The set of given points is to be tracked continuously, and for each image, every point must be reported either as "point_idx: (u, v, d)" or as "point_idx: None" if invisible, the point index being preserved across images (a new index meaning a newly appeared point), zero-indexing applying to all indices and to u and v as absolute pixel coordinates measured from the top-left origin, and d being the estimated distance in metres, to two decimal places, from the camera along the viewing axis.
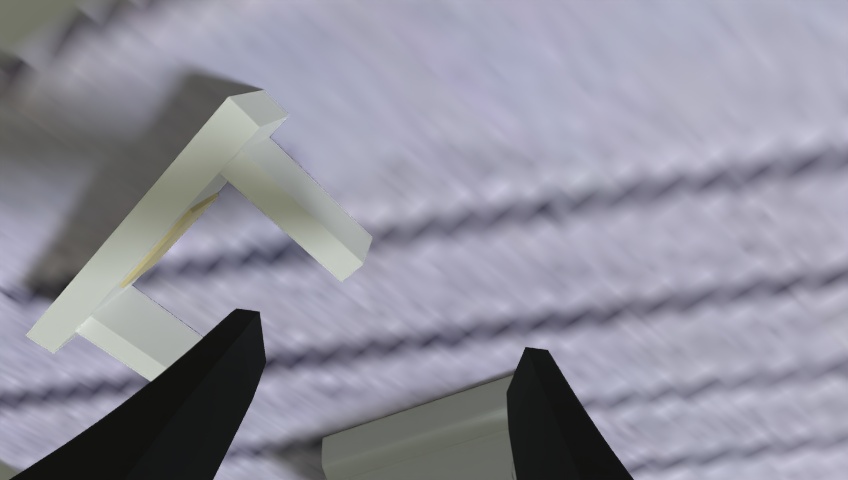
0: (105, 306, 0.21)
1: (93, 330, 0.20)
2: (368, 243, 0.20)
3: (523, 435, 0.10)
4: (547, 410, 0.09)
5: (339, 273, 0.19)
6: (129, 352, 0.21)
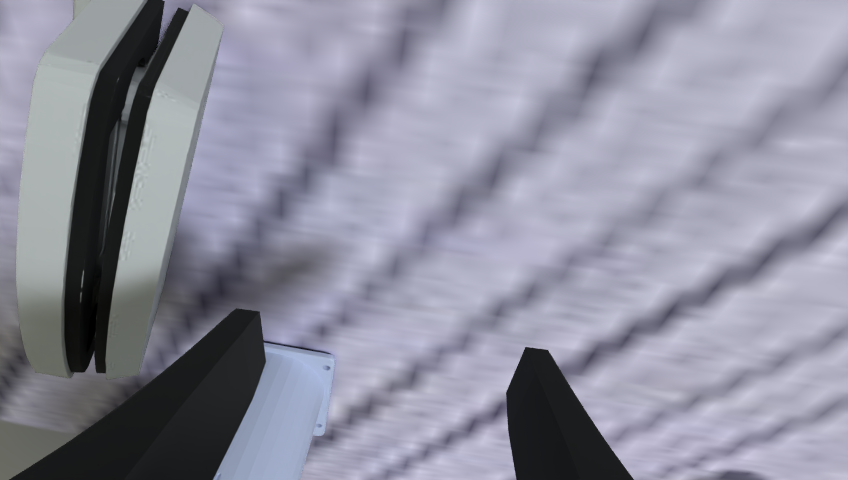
0: None
1: None
2: None
3: (523, 435, 0.10)
4: (547, 410, 0.09)
5: None
6: None
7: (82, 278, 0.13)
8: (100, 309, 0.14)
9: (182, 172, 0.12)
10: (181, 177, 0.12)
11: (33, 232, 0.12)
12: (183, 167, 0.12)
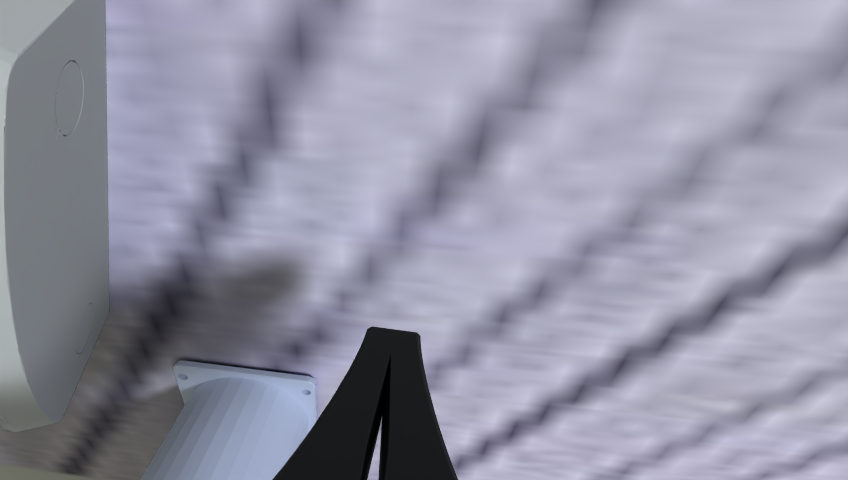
0: None
1: None
2: None
3: (384, 418, 0.10)
4: (389, 390, 0.09)
5: None
6: None
7: None
8: None
9: (3, 156, 0.09)
10: (4, 164, 0.09)
11: None
12: (2, 149, 0.08)
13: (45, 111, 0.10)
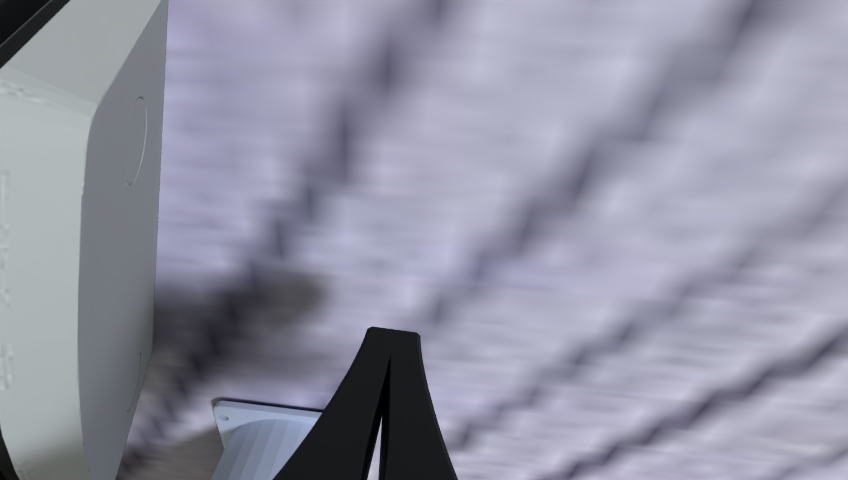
0: None
1: None
2: None
3: (384, 418, 0.10)
4: (389, 390, 0.09)
5: None
6: None
7: None
8: None
9: (79, 231, 0.07)
10: (80, 240, 0.07)
11: None
12: (79, 222, 0.07)
13: (116, 163, 0.08)
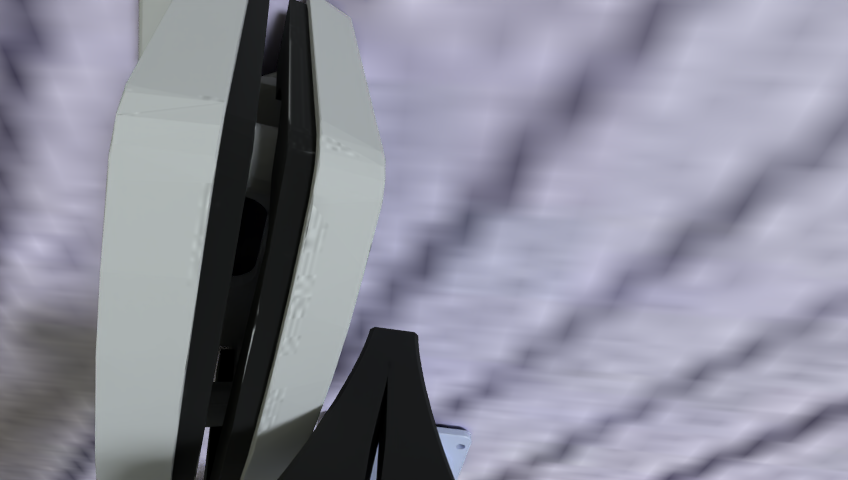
0: None
1: None
2: None
3: None
4: (386, 390, 0.09)
5: None
6: None
7: (198, 459, 0.08)
8: None
9: (361, 277, 0.07)
10: (358, 285, 0.07)
11: (122, 417, 0.06)
12: (363, 269, 0.07)
13: None
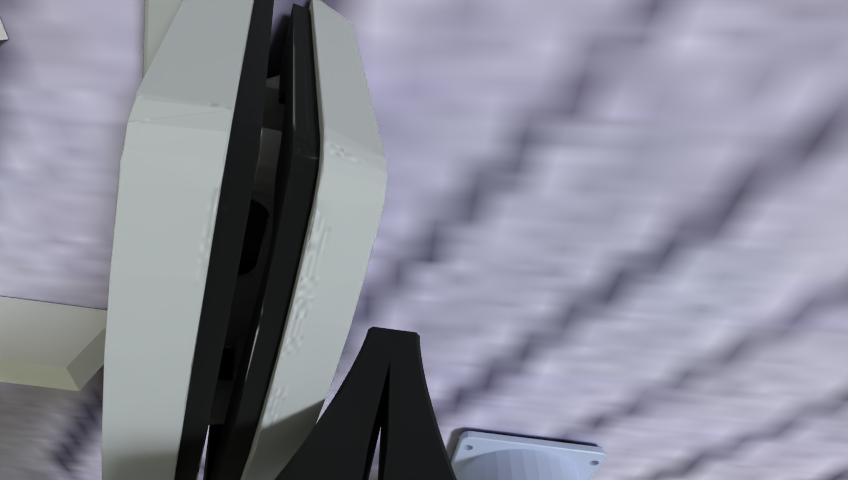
0: None
1: None
2: None
3: (383, 418, 0.10)
4: (388, 390, 0.09)
5: None
6: None
7: (201, 455, 0.08)
8: None
9: (362, 279, 0.07)
10: (359, 287, 0.07)
11: (129, 414, 0.07)
12: (364, 271, 0.07)
13: None
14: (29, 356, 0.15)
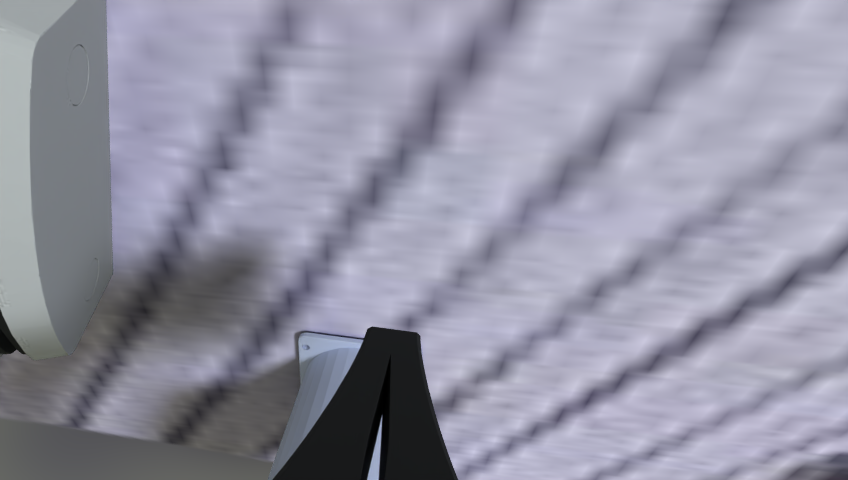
0: None
1: None
2: None
3: (383, 418, 0.10)
4: (389, 390, 0.09)
5: None
6: None
7: None
8: None
9: (29, 112, 0.11)
10: (30, 118, 0.11)
11: None
12: (28, 106, 0.11)
13: (59, 82, 0.13)
14: None
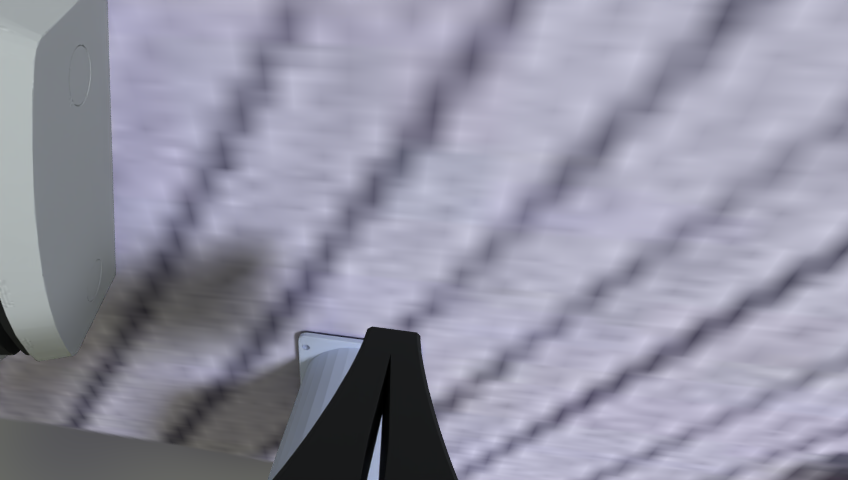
0: None
1: None
2: None
3: (384, 418, 0.10)
4: (389, 390, 0.09)
5: None
6: None
7: None
8: None
9: (31, 112, 0.11)
10: (32, 118, 0.11)
11: None
12: (31, 106, 0.11)
13: (61, 82, 0.13)
14: None
